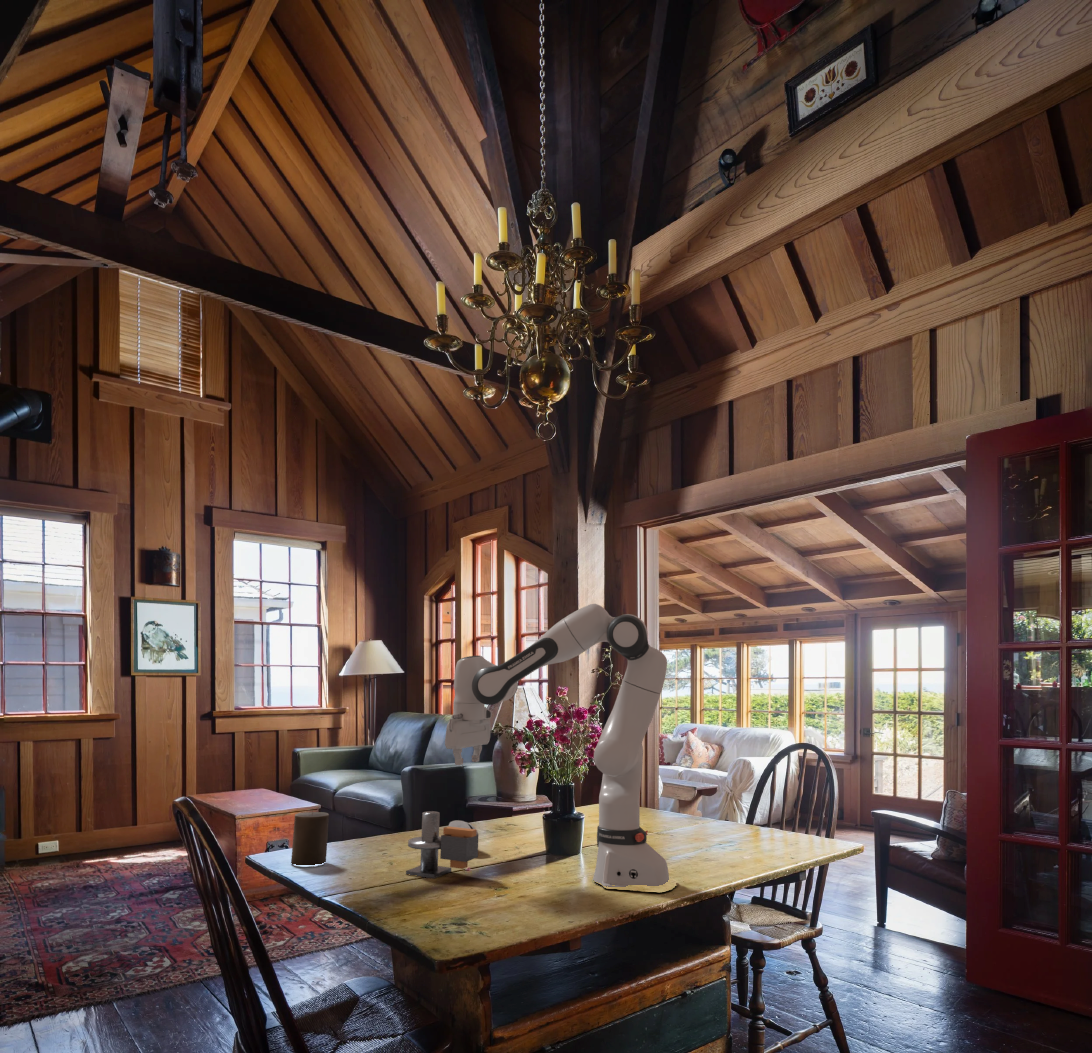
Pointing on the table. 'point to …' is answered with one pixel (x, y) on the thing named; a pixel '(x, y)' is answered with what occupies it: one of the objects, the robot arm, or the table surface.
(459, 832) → the orange t-shaped block
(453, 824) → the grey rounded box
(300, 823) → the pillar candle
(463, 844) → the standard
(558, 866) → the table surface
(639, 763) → the robot arm
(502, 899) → the table surface
